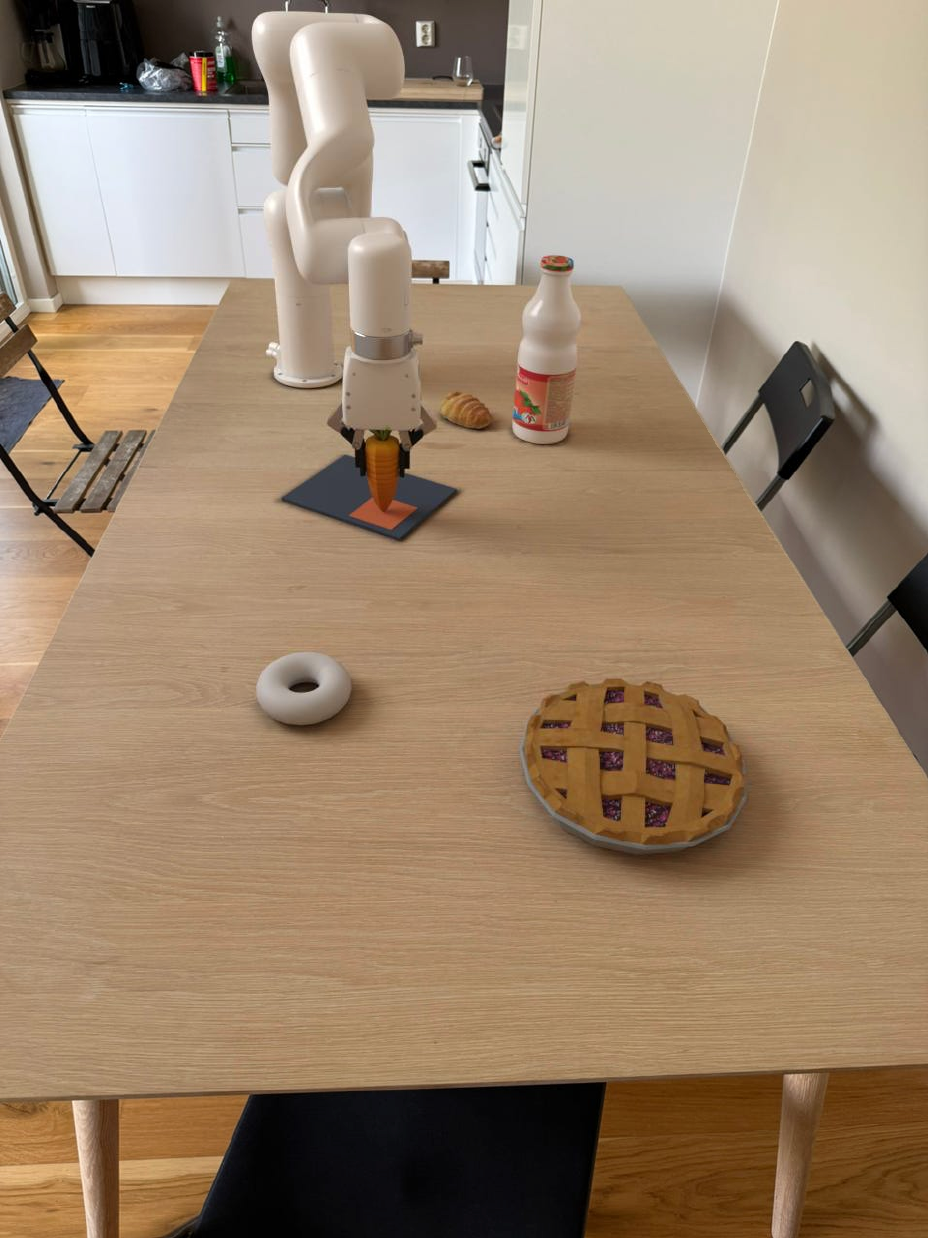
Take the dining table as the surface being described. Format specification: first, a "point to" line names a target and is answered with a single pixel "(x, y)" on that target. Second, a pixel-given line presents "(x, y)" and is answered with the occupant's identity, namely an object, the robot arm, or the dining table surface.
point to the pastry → (465, 410)
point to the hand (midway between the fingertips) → (382, 471)
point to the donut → (309, 704)
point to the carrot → (382, 466)
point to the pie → (633, 766)
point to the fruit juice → (547, 357)
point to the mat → (369, 499)
